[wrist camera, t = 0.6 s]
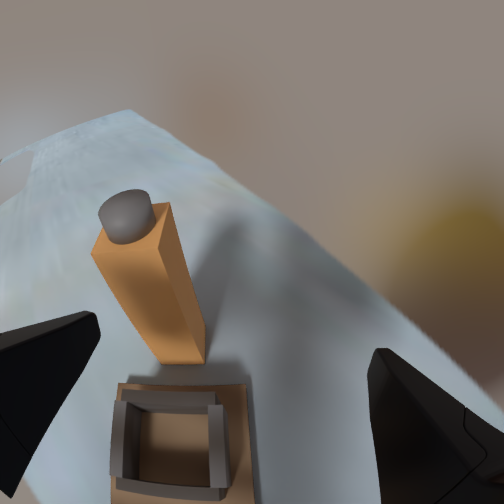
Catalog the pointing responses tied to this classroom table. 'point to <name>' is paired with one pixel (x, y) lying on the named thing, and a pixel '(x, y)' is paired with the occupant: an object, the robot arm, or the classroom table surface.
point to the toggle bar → (150, 276)
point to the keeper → (181, 445)
